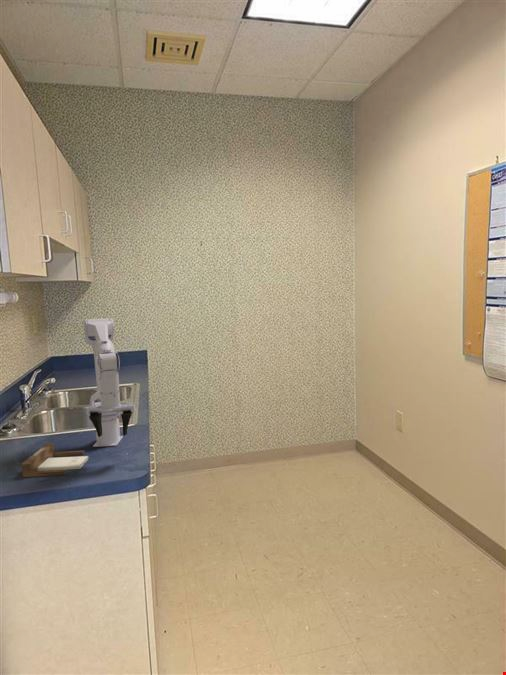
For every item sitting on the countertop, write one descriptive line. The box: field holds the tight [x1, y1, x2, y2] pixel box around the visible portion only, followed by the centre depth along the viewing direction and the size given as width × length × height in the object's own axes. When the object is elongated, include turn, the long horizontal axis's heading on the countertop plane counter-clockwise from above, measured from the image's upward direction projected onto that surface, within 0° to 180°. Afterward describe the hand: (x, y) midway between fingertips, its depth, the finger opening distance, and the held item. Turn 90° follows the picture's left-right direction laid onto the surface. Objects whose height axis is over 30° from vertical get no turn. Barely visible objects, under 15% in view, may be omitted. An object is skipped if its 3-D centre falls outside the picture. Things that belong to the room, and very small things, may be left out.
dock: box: [21, 442, 85, 478], centre depth 134 cm, size 17×12×4 cm
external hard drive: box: [38, 455, 89, 471], centre depth 134 cm, size 2×8×12 cm
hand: (112, 435), depth 134 cm, fingers open, 7 cm apart
